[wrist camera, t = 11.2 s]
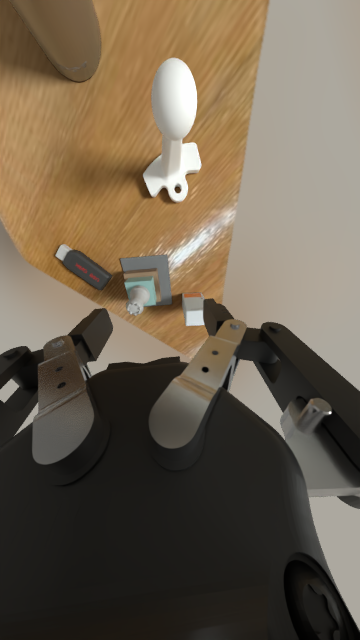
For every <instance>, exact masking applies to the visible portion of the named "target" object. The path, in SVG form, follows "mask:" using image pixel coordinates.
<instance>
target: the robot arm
mask: <svg viewBox="0 0 360 640" xmlns="http://www.w3.org/2000/svg"><path fill="white" fill-rule="evenodd" d="M9 1H10V2H11V4H12V5H13V7H14V8H15V10H16V11H17V13H18V14H19V16H20V17H21V19H22V20H23V22H24V23H25V25H26V26H27V28H28V29H29V31H30V32H31V34H32V35H33V37H34V38H35V39H36V41H37V42H38V44H39V45H40V47H41V48H42V50H43V51H44V53H45V54H46V56H47V57H48V58H49V60H50V61H51V63H52V64H53V65H54V66H55V68H56V69H57V70H58V71H59V72H60V73H62V74H63V75H64V76H66V77H67V78H69V79H71V80H73V81H80V82H81V81H85V80H87V79H89V78H90V77H91V76H92V75H93V74H94V72H95V71H96V69H97V66H98V64H99V59H100V53H101V38H100V29H99V24H98V19H97V15H96V12H95V9H94V5H93V2H92V0H9ZM203 321H204V324H205V327H206V329H207V332H208V334H209V337H208V338H207V340H206V341H205V343H204V344H203V345H202V347H201V348H200V349H199V351H198V352H197V354H196V355H195V356H194V358H193V359H192V360H191V362H190V363H186V362H180V357H179V356H178V357H169V358H161V359H158V360H155V361H151V362H148V363H144V364H141V363H132V362H121V363H112V364H109V365H108V367H107V369H106V370H104V371H101V372H99V373H97V374H95V375H93V376H92V375H91V372H90V370H89V367H88V365H87V362H91V361H96V360H97V358H98V356H99V355H100V353H101V351H102V349H103V347H104V346H105V344H106V342H107V340H108V338H109V337H110V335H111V333H112V331H113V325H112V322H111V320H110V317H109V314H108V312H107V310H106V309H105V308H102V309H95V310H93V311H92V313H90V315H89V316H87V317H86V318H84V319H83V320H82V321H81V322H80V323H79V324H78V325H77V326H76V327H75V328H74V329H73V330H72V331H71V332H70V333H69V334H68V335H66V336H60V337H57V338H54V339H52V340H51V341H49V342H47V343H46V344H45V345H44V347H43V349H41V350H37V351H34V352H31V351H30V350H29V348H28V347H26V346H21V347H16V348H13V349H10V350H8V351H6V352H4V353H3V354H1V355H0V389H1V388H2V387H3V386H4V385H5V384H6V383H7V382H8V381H9V380H10V379H13V380H14V381H15V382H16V383H17V384H18V385H19V386H20V387H19V388H18V389H17V390H16V391H15V392H14V393H13V394H12V395H11V396H10V398H9V399H8V400H7V401H6V402H5V403H3V402H2V401H1V400H0V640H360V630H359V629H358V627H357V625H356V623H355V621H354V619H353V618H352V615H351V614H350V612H349V610H348V608H347V606H346V604H345V602H344V600H343V598H342V596H341V594H340V592H339V590H338V588H337V586H336V584H335V582H334V579H333V577H332V575H331V572H330V570H329V568H328V565H327V562H326V560H325V557H324V554H323V551H322V548H321V546H320V543H319V539H318V536H317V533H316V529H315V526H314V523H313V518H312V514H311V509H310V504H309V498H308V497H326V496H337V497H338V498H339V499H340V500H342V501H343V502H345V503H346V504H348V505H350V506H352V507H354V508H358V509H360V391H359V390H357V389H356V388H355V387H354V386H353V385H352V384H351V383H349V382H348V381H347V380H346V379H345V378H344V377H343V376H341V375H340V374H339V373H338V372H337V371H336V370H334V369H333V368H332V367H331V366H330V365H329V364H328V363H326V362H325V361H324V360H323V359H322V358H321V357H320V356H318V355H317V354H316V353H315V352H314V351H313V350H311V349H310V348H309V347H308V346H307V345H306V344H305V343H303V342H302V341H301V340H300V339H299V338H298V337H297V336H295V335H294V334H293V333H292V332H291V331H290V330H289V329H287V328H286V327H285V326H283V325H281V324H278V323H274V322H266V323H263V324H262V326H261V329H256V328H248V327H247V325H246V324H245V323H244V322H242V321H240V320H236V319H234V318H233V317H232V315H231V314H230V313H229V311H228V310H227V309H226V308H225V306H223V305H221V304H217V303H216V302H215V301H214V299H213V298H212V299H204V300H203ZM278 358H279V359H278ZM240 359H243V360H249V361H253V362H254V364H255V366H256V367H257V369H258V371H259V372H260V374H261V376H262V378H263V379H264V381H265V383H266V384H267V386H268V388H269V390H270V391H271V393H272V395H273V396H274V398H275V400H276V401H277V403H278V405H279V407H280V408H281V410H282V412H283V415H282V416H281V419H280V422H281V423H280V424H281V427H282V430H283V432H284V436H285V440H284V439H283V438H282V437H281V435H280V434H279V433H278V432H277V431H276V430H275V429H274V428H273V427H272V426H270V425H269V424H268V423H267V422H265V421H264V420H263V419H262V418H260V417H259V416H258V415H257V414H255V413H254V412H253V411H252V410H250V409H249V408H248V407H247V406H245V405H244V404H243V403H242V402H240V401H239V400H238V399H237V398H235V397H234V396H233V395H232V394H230V393H229V390H230V386H231V383H232V380H233V376H234V374H235V372H236V369H237V366H238V364H239V361H240ZM37 403H38V406H39V407H38V409H39V410H38V414H37V415H36V416H35V417H34V419H33V422H32V423H31V424H30V425H28V426H27V427H26V428H24V429H23V430H22V431H20V432H19V433H18V434H17V435H15V434H16V432H17V431H18V429H19V428H20V426H21V425H22V424H23V422H24V421H25V420H26V418H27V417H28V415H29V414H30V413H31V411H32V410H33V408H34V407H35V406H36V404H37ZM14 435H15V436H14Z"/></svg>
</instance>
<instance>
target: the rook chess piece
mask: <svg viewBox="0 0 360 640" xmlns="http://www.w3.org/2000/svg"><path fill="white" fill-rule="evenodd" d="M149 298H150V292H149V291H148V289H147V288H145V287H144V286H141V285H139V286H135V287H133V288H132V289H131V292H130V300H129V301H128V302H127V303H126V309H127V311H128V312H129V314H134V315H138V314H140V313H141V312H142V311H143V305H144V304H146V303H147V302H148V301H149Z"/></svg>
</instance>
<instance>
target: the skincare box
mask: <svg viewBox="0 0 360 640" xmlns="http://www.w3.org/2000/svg"><path fill="white" fill-rule="evenodd" d="M204 299H205V298H204V297H203V295H202V293H182V307H183V313H184V318H185V324H186V326H192V325H195V326H198V325H205V324H204V321H203V300H204Z"/></svg>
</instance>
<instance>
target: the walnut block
mask: <svg viewBox="0 0 360 640" xmlns="http://www.w3.org/2000/svg"><path fill="white" fill-rule="evenodd" d="M123 275H124V279H125V282H126V280H127V279H128V278H135V277H147V276H153V280H154V286H155V292H156V298H157V299H156V302H161V291H160V284H159V277H158V269H157V268H152V269H140V270H128V271H126V272H125V273H124V274H123Z"/></svg>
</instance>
